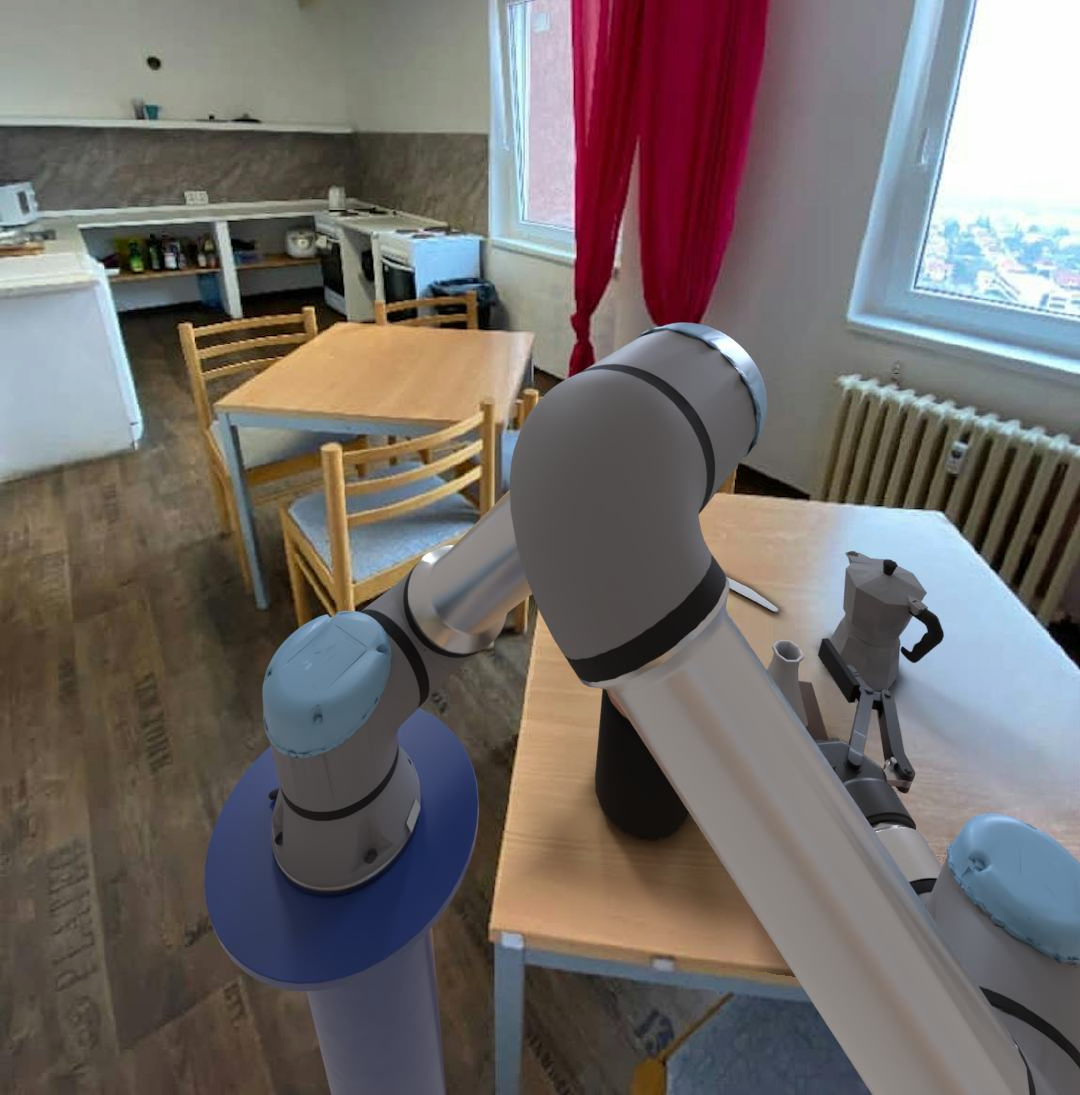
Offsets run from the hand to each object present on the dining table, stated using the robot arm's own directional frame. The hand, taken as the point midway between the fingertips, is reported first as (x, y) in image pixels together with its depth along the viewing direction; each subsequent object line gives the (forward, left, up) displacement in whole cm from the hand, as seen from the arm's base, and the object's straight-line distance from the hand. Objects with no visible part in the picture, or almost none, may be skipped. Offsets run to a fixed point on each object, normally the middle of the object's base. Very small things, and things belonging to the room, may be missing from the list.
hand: (768, 650), depth 72 cm
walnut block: (+1, -3, -12) cm, 13 cm away
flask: (+1, -3, -7) cm, 8 cm away
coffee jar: (-14, -12, -12) cm, 22 cm away
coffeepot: (+17, +11, -12) cm, 23 cm away
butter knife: (-4, +28, -12) cm, 31 cm away
